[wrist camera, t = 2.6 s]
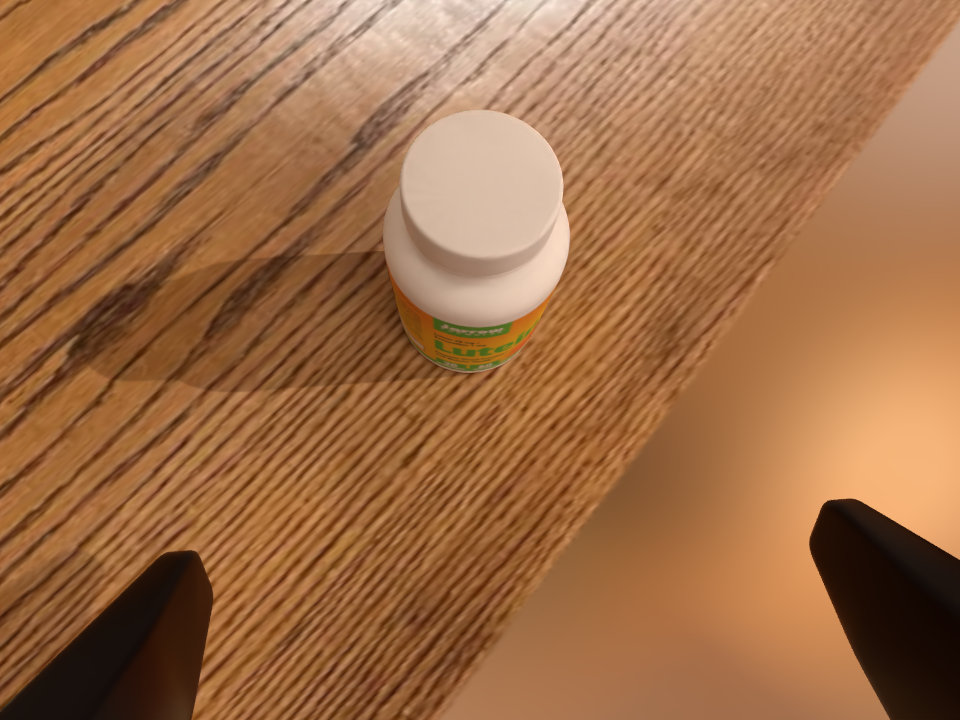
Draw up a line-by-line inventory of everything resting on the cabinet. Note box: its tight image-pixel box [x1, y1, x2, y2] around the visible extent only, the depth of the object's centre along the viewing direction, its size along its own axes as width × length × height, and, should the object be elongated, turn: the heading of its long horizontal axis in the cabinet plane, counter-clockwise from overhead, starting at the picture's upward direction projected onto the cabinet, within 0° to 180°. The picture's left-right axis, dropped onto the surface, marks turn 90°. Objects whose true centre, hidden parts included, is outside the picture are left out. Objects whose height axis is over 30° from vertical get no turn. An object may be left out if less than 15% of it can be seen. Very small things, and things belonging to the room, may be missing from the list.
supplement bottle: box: [383, 110, 570, 373], centre depth 19 cm, size 5×5×10 cm
